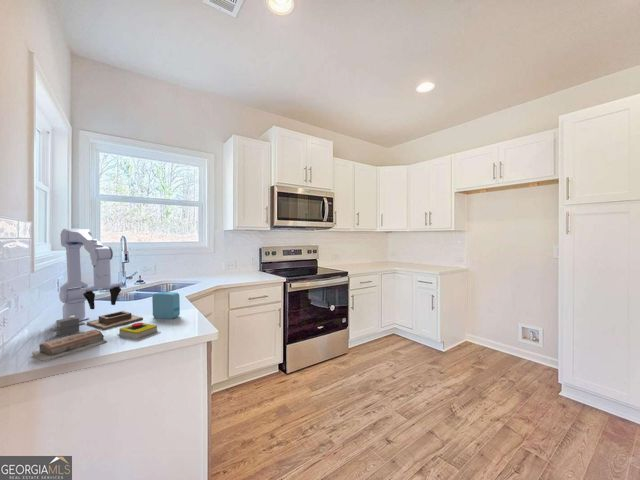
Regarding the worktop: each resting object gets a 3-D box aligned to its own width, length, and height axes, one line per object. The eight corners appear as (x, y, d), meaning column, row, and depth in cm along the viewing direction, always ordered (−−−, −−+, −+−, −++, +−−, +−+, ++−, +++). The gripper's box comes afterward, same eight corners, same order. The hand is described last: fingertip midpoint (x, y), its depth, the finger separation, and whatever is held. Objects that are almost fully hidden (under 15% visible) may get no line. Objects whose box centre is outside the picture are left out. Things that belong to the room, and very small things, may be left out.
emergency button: (138, 319, 122) (161, 323, 116) (138, 328, 122) (162, 333, 116) (115, 325, 113) (139, 330, 107) (115, 336, 113) (140, 341, 108)
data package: (180, 316, 138) (179, 292, 138) (173, 319, 134) (172, 294, 133) (159, 315, 141) (159, 291, 140) (152, 317, 136) (151, 293, 136)
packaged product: (93, 327, 110) (106, 331, 106) (94, 339, 111) (107, 343, 106) (31, 343, 95) (43, 348, 90) (31, 357, 95) (43, 363, 90)
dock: (86, 324, 127) (86, 316, 127) (125, 314, 141) (125, 308, 141) (103, 330, 119) (103, 322, 119) (142, 319, 133) (142, 312, 133)
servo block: (50, 336, 112) (49, 319, 112) (80, 328, 121) (80, 313, 121) (54, 338, 111) (53, 321, 110) (85, 330, 119) (84, 314, 119)
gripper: (85, 278, 110) (86, 312, 111) (125, 273, 123) (126, 304, 123) (77, 277, 114) (78, 310, 114) (117, 272, 126) (118, 302, 127)
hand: (103, 306), depth 119 cm, fingers open, 7 cm apart
